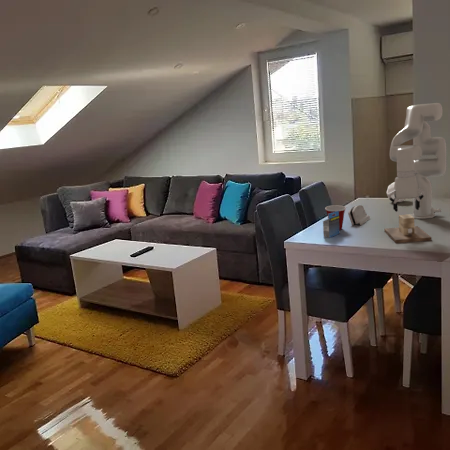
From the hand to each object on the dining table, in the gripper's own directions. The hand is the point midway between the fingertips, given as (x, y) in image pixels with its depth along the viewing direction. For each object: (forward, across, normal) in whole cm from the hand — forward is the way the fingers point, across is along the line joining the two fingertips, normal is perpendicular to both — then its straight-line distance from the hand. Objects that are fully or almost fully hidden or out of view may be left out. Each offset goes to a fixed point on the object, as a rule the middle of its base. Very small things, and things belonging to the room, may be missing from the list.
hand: (406, 210), depth 233 cm
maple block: (+11, 0, +1) cm, 11 cm away
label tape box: (+12, +34, -10) cm, 38 cm away
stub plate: (+12, 0, +1) cm, 12 cm away
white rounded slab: (+13, +16, -36) cm, 42 cm away
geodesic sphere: (+15, -16, -81) cm, 84 cm away
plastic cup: (+13, +30, -22) cm, 40 cm away
